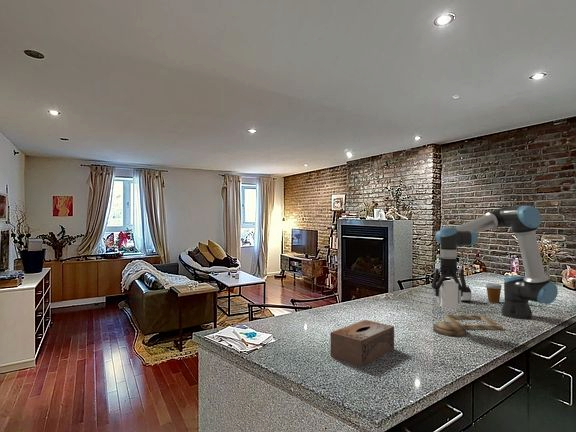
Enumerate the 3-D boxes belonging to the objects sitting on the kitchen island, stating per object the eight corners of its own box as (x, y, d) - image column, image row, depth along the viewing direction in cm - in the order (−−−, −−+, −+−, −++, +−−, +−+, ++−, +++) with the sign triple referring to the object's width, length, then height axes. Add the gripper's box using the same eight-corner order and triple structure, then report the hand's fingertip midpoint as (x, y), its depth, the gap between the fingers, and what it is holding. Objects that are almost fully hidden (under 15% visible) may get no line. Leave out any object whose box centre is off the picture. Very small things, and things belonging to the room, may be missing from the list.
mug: (448, 310, 165) (448, 285, 165) (432, 306, 172) (432, 282, 172) (462, 307, 171) (462, 283, 171) (446, 303, 178) (446, 280, 179)
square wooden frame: (481, 318, 195) (481, 314, 195) (502, 329, 174) (502, 325, 174) (444, 318, 195) (444, 314, 195) (461, 329, 175) (461, 325, 175)
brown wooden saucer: (457, 327, 179) (457, 320, 179) (472, 336, 164) (472, 329, 164) (428, 326, 179) (428, 320, 179) (440, 336, 164) (440, 329, 164)
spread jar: (473, 303, 232) (473, 285, 232) (456, 303, 232) (456, 285, 232) (464, 299, 244) (464, 282, 244) (448, 299, 244) (448, 282, 244)
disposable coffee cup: (486, 299, 241) (486, 282, 241) (502, 301, 236) (502, 284, 236) (485, 302, 233) (484, 284, 234) (501, 304, 228) (501, 286, 228)
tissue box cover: (361, 367, 130) (360, 340, 130) (330, 357, 140) (330, 332, 140) (394, 349, 148) (394, 326, 148) (365, 341, 158) (365, 319, 158)
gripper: (467, 257, 176) (467, 301, 175) (423, 257, 176) (424, 301, 176) (474, 258, 168) (475, 304, 168) (429, 258, 169) (429, 304, 168)
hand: (449, 302), depth 172 cm, fingers closed on mug, 9 cm apart
